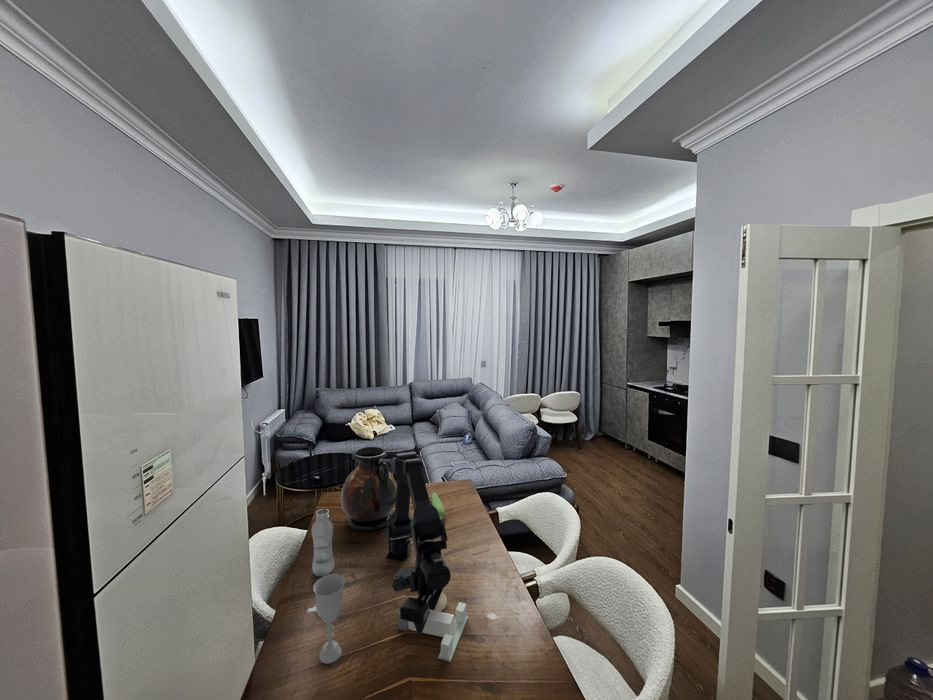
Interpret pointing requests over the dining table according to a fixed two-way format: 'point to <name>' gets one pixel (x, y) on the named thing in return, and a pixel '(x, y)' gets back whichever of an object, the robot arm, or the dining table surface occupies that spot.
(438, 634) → the mallet
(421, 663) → the dining table surface
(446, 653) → the notched board
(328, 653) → the chalice
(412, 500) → the robot arm
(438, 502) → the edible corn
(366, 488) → the amphora vase
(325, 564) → the plastic bottle
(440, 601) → the bobbin
